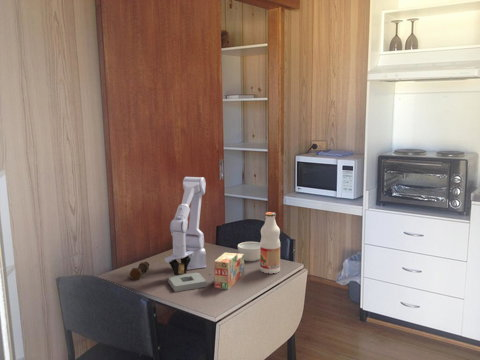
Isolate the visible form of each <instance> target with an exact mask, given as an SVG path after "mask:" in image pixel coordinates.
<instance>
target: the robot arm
mask: <svg viewBox="0 0 480 360" xmlns="http://www.w3.org/2000/svg"><path fill="white" fill-rule="evenodd" d="M206 185H207V182H206V178H205V177H203V176H202V177H201V176H200V177H199V176H198V177H197V176H185V177H184V178H183V180H182V188H183V190H184V191H183V194H182V195H183V196H182V200H181V204H179V205H178V207H177V210H176V212H175V215H174V218H173V219H172V220H171V221H170V223H169V231H170V233H171V234H170V235H171V236H172V254H171V255H169V256H166V257H164V262H165V263H167V264H169V265H170V267H171V269H172V272H173V276H177V275H178V266H179V263H184V274H187V270H189V271H190V270H195V269H201V268H202V269H203V268H207V253H206V249H205V247H204V245H205V237H204V233H203V232H202V230H200V219H201V218H200V217H201V208H202V198H203V197H202V196H203V195H206V194H205V193H206ZM188 218H189V220H188ZM178 260H180V262H179V261H178Z"/></svg>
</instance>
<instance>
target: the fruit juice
mask: <svg viewBox="0 0 480 360" xmlns="http://www.w3.org/2000/svg"><path fill="white" fill-rule="evenodd" d="M264 215H265V220H264V224H263V225H262V227H261V229H260V234H261V235H260V236H261V238H260V242H259V243H260V259H259V261H260V263H259V264H260V265H259V266H260V267H259V269H260V272H262V273H263V272H264V273H263V274H268V273H269V275H270V274H271V275H273V273H274V274H277V273H279V272H280V271H281V241H280V234H281V229H280V227H279V226H278V225H277V222H276V215H277V214H276V212H272V211H268V212H265V213H264Z"/></svg>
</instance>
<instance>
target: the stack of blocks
mask: <svg viewBox="0 0 480 360" xmlns="http://www.w3.org/2000/svg"><path fill="white" fill-rule="evenodd" d="M243 273H245V261H244V254H239V253H238V252H237V253H236V252H235V253H233V252H223V253H222V254H221V255H220V256H218V258H216V259H215V260H214V289H220V288H222V289H221V290H230V288H231V287H232V286H233V285H235V283H236V282H238V280H239V279H240V278H241V277H242V276H243V275H242V274H243ZM239 277H240V278H239ZM238 278H239V279H238Z"/></svg>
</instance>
